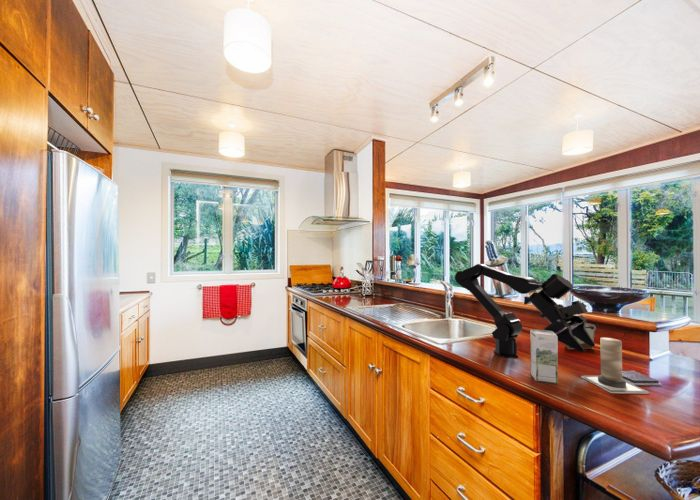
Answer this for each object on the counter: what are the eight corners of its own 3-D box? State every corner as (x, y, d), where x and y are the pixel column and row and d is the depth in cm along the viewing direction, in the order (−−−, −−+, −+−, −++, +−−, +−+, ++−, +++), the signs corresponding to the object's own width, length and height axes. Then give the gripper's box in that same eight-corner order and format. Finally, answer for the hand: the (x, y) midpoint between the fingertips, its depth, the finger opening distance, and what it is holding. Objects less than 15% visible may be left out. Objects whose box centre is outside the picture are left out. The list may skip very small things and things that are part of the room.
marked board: (611, 393, 77) (611, 391, 77) (581, 377, 87) (581, 375, 87) (649, 393, 77) (648, 391, 77) (614, 377, 87) (614, 376, 87)
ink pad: (633, 385, 82) (633, 381, 82) (608, 373, 90) (608, 370, 90) (661, 385, 82) (661, 381, 82) (634, 374, 90) (634, 370, 90)
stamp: (600, 384, 81) (599, 340, 82) (596, 377, 86) (595, 335, 87) (628, 389, 78) (627, 344, 79) (622, 381, 83) (622, 339, 84)
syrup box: (551, 376, 88) (550, 329, 88) (558, 384, 82) (557, 334, 83) (530, 374, 90) (529, 328, 90) (535, 381, 84) (535, 332, 84)
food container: (585, 345, 120) (585, 321, 120) (596, 349, 114) (596, 325, 114) (554, 344, 121) (554, 320, 121) (564, 348, 115) (563, 324, 115)
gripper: (555, 294, 86) (602, 339, 77) (578, 290, 97) (622, 330, 87) (527, 315, 93) (568, 359, 83) (552, 309, 103) (590, 348, 94)
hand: (588, 348), depth 87 cm, fingers open, 9 cm apart
